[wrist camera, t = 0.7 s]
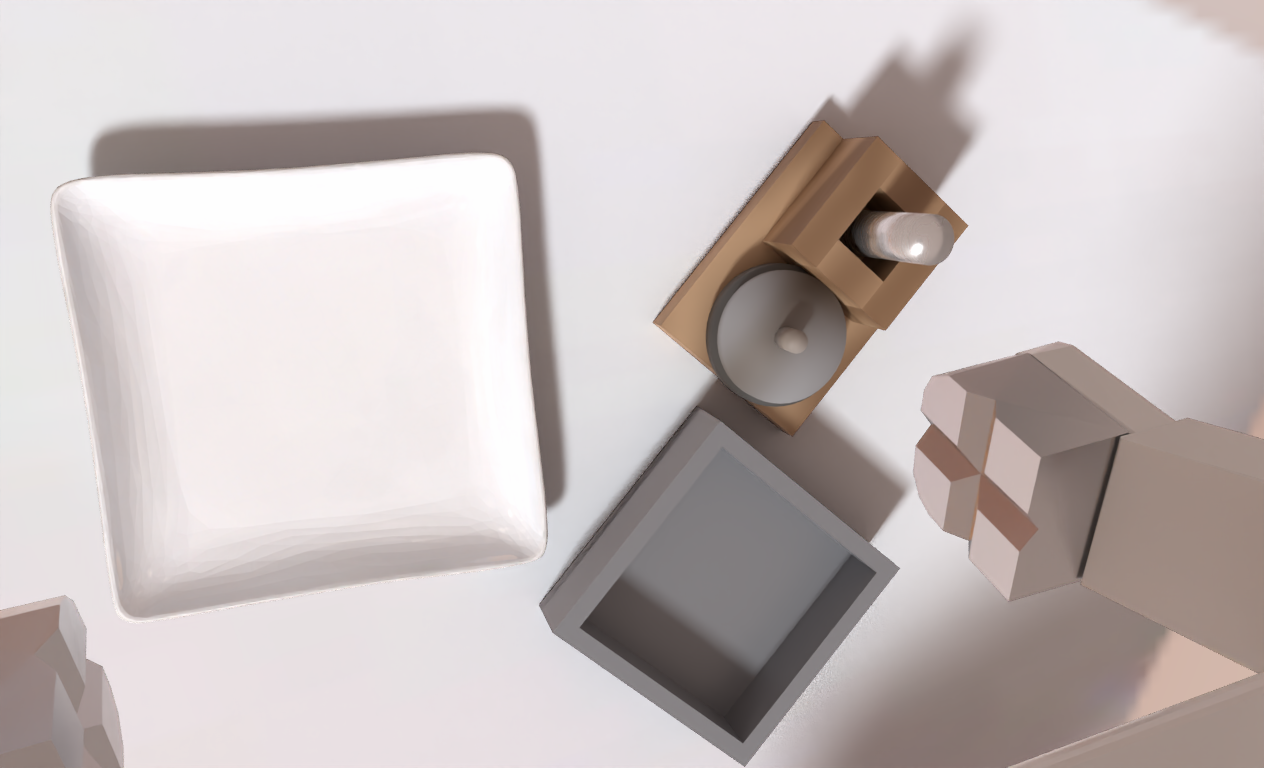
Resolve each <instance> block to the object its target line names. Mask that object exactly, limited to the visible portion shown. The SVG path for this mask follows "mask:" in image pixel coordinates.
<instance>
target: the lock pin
mask: <svg viewBox="0 0 1264 768" xmlns="http://www.w3.org/2000/svg"><path fill="white" fill-rule="evenodd" d="M839 241H840V242H841V243H843V244H844V245H845V246H846V247H847V248H848V249H849V250H850V251H851V252H852V253H853V254H854V255H857V256H864V257H871V258H878V259H886V260H893V261H900V262H907V263H914V264H921V265H936V264H939V263H941V262H942V261H944V260H945V259H946V258H947V257H948V256H949V254H950V253H951V251H952V248H953V245H954V231H953V228H952V226H951V224H950V223H949V221H948V220H947V219H945V218H944V217H943V216H940V215H937V214H925V213H906V212H887V211H869V210H862V211H861V212H860V213H859V214H858V216H857V217H856V218H855V219H854V221H853V222H852V223H851V224H850V226H849V227H848V228H847V230H846V231H845V232H844V233H843V235H842V236H841V237H840V238H839Z"/></svg>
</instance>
